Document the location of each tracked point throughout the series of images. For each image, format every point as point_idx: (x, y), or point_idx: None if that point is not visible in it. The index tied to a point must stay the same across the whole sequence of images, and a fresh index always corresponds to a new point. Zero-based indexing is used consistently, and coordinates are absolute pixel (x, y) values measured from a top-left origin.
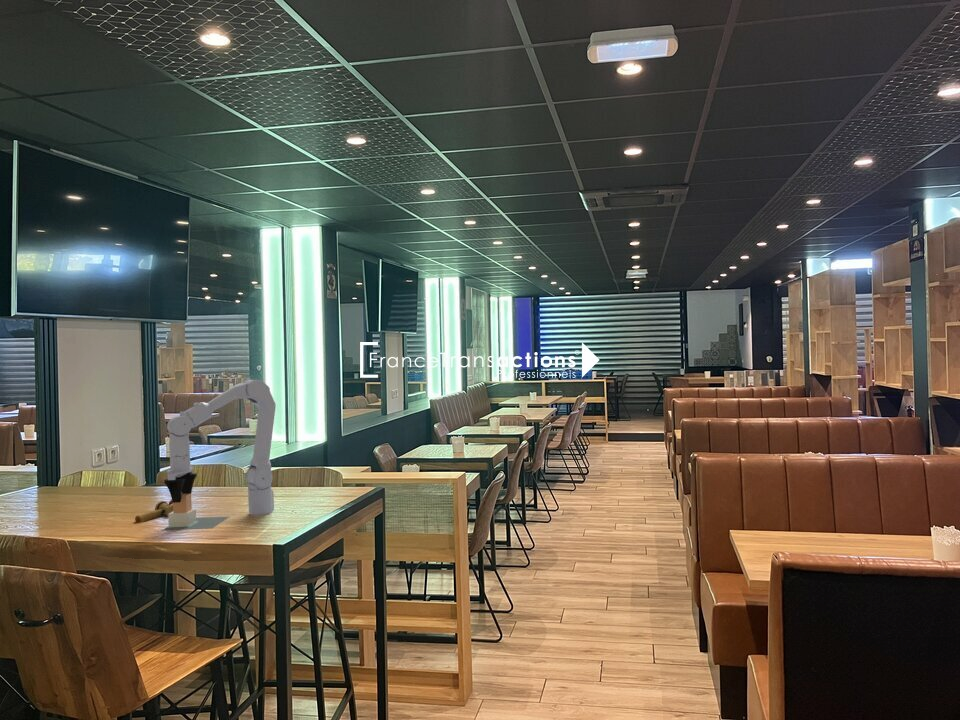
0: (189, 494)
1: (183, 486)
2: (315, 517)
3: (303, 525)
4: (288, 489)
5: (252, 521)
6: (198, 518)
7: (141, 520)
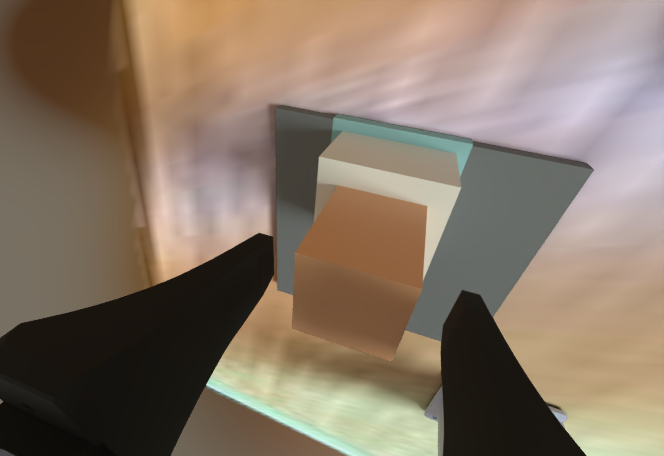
0: (358, 349)
1: (478, 394)
2: (373, 451)
3: (301, 419)
4: None
5: (387, 375)
6: (513, 250)
7: None
